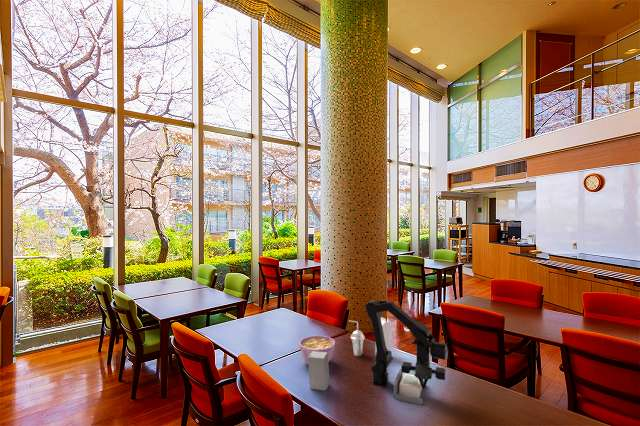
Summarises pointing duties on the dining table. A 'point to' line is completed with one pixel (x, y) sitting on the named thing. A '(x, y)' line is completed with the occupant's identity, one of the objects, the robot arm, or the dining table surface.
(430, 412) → the dining table surface
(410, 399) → the display stand
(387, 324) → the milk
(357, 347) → the cup with straw
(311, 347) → the bowl of food
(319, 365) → the skincare box
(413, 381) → the carton
